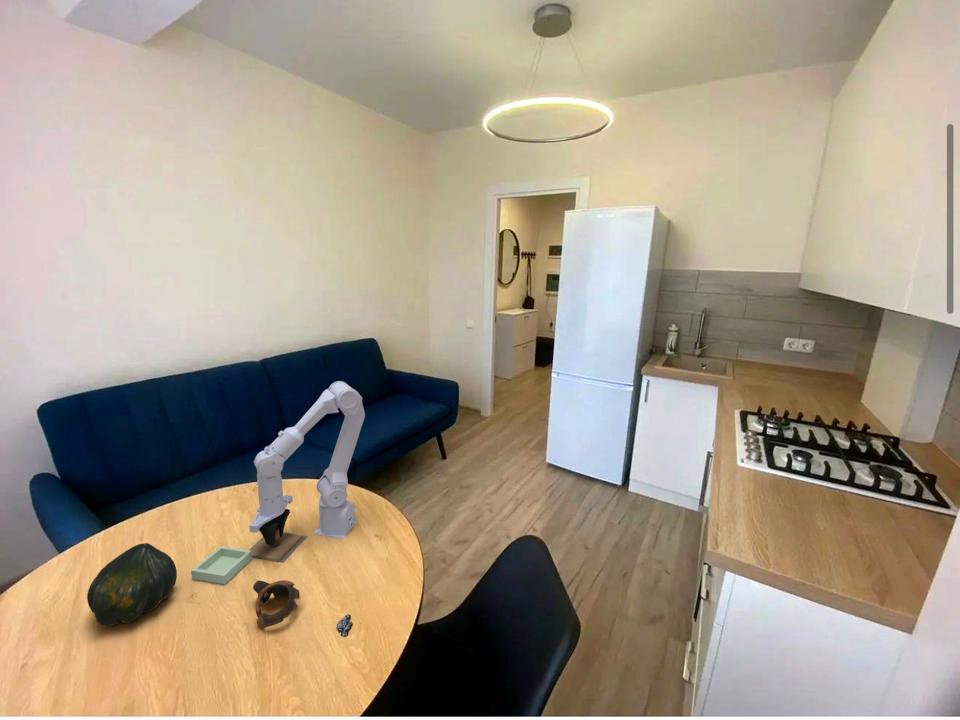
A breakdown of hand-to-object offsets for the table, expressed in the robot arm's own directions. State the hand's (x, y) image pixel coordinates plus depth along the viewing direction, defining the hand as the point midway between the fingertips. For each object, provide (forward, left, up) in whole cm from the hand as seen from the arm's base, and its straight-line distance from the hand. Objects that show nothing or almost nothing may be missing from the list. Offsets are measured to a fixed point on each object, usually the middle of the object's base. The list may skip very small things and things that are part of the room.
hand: (274, 539), depth 107 cm
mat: (0, 0, -3) cm, 3 cm away
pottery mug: (-14, +18, -3) cm, 23 cm away
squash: (+17, +23, -3) cm, 29 cm away
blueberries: (-31, +19, -3) cm, 37 cm away
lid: (0, 0, -2) cm, 2 cm away
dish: (+7, +10, -3) cm, 12 cm away
